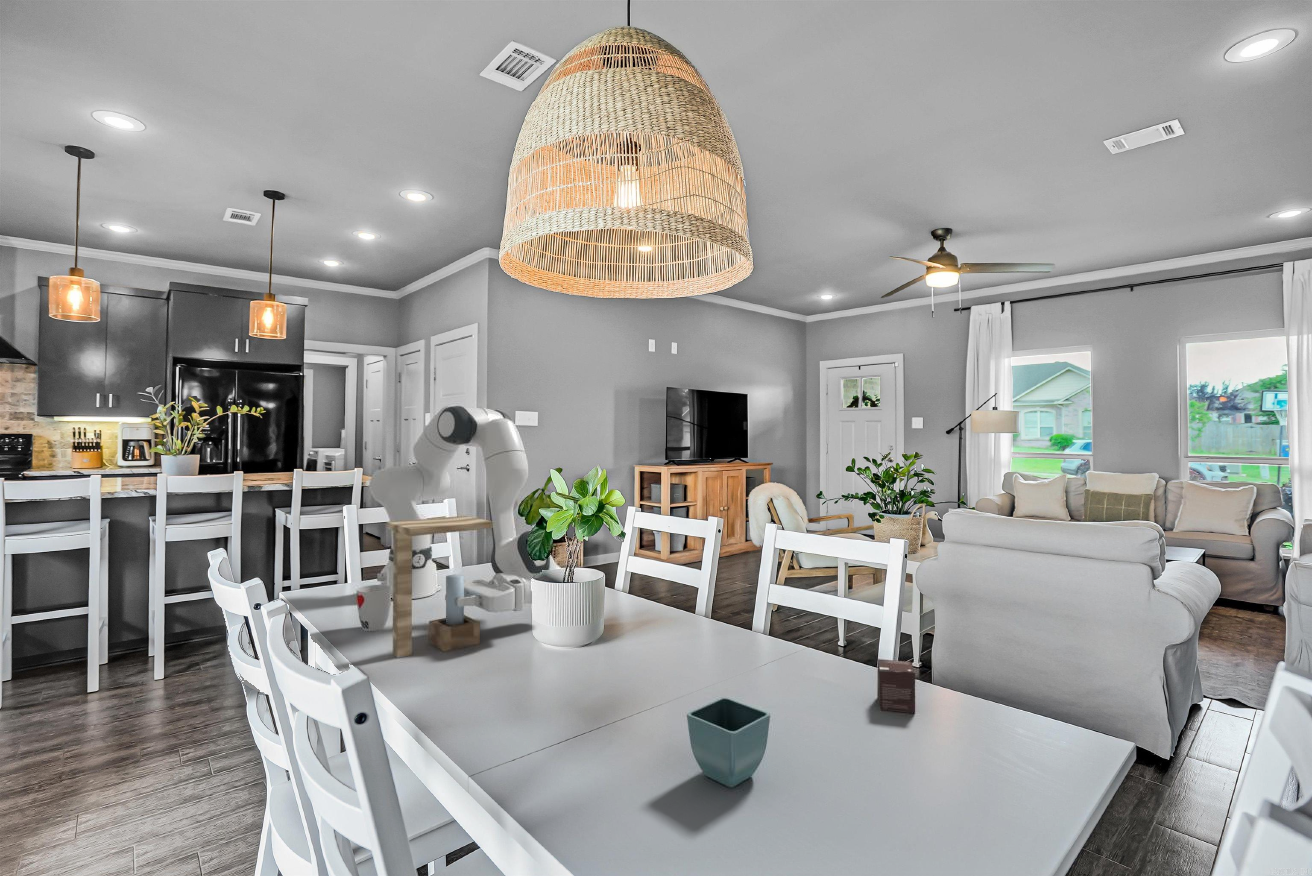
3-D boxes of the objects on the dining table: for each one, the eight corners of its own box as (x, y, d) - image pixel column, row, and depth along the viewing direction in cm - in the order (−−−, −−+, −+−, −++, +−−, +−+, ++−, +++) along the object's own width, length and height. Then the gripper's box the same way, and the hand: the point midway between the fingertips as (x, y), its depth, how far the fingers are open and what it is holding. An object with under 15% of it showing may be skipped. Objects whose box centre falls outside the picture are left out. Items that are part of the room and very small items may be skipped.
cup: (356, 625, 162) (356, 586, 162) (390, 622, 166) (391, 583, 166) (356, 634, 155) (356, 593, 155) (392, 630, 158) (392, 590, 158)
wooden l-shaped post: (383, 648, 145) (384, 522, 145) (464, 631, 158) (465, 515, 158) (407, 664, 135) (408, 529, 135) (492, 645, 148) (492, 521, 148)
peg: (443, 627, 149) (443, 575, 149) (459, 624, 152) (459, 573, 152) (450, 631, 146) (450, 578, 146) (466, 627, 149) (466, 576, 149)
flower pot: (684, 775, 92) (684, 712, 92) (723, 754, 98) (724, 695, 98) (732, 800, 85) (733, 733, 85) (771, 776, 92) (772, 713, 92)
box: (911, 701, 118) (912, 661, 118) (915, 714, 112) (916, 673, 112) (876, 697, 120) (877, 658, 120) (879, 710, 114) (879, 669, 114)
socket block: (428, 642, 149) (428, 621, 149) (463, 635, 155) (463, 614, 155) (444, 651, 143) (444, 629, 143) (479, 643, 149) (479, 622, 149)
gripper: (485, 571, 165) (432, 579, 156) (526, 585, 150) (471, 594, 141) (485, 595, 165) (432, 605, 156) (526, 611, 150) (471, 623, 141)
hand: (451, 600), depth 148 cm, fingers closed on peg, 4 cm apart
